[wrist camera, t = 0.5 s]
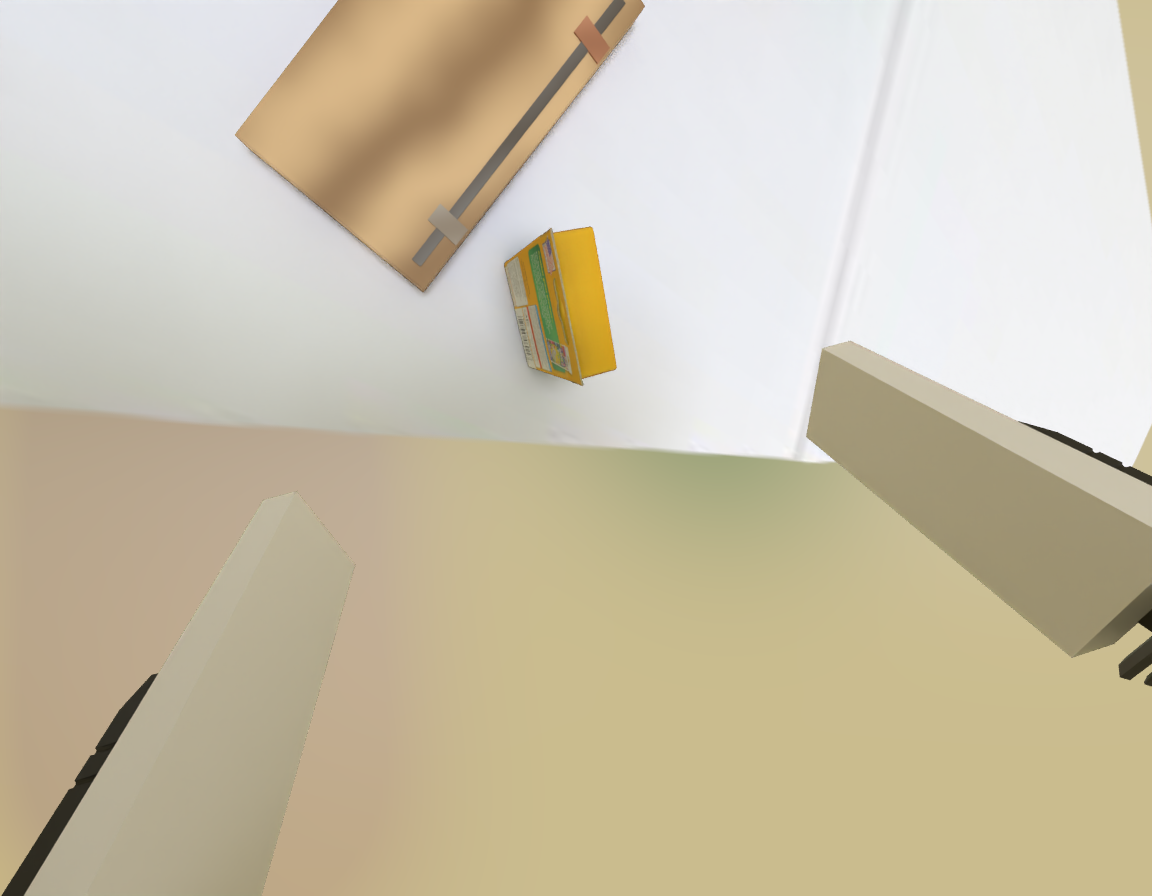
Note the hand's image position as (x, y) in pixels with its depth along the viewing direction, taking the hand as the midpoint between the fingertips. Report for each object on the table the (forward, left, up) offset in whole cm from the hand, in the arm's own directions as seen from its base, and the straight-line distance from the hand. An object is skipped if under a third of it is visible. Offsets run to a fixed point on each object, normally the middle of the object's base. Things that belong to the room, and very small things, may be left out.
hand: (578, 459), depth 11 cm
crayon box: (0, +6, -21) cm, 22 cm away
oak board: (-12, +13, -21) cm, 27 cm away
